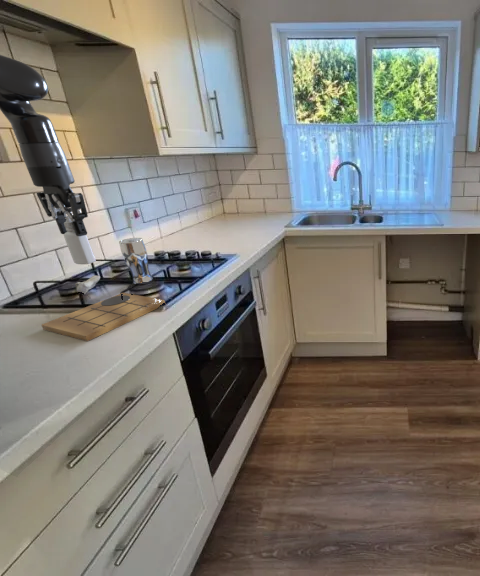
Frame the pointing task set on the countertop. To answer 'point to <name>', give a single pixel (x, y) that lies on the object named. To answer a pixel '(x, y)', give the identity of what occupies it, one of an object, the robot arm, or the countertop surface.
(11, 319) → the countertop surface
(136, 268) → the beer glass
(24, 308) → the countertop surface
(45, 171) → the robot arm
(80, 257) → the eye dropper bottle
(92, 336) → the board
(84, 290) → the bone fragment
